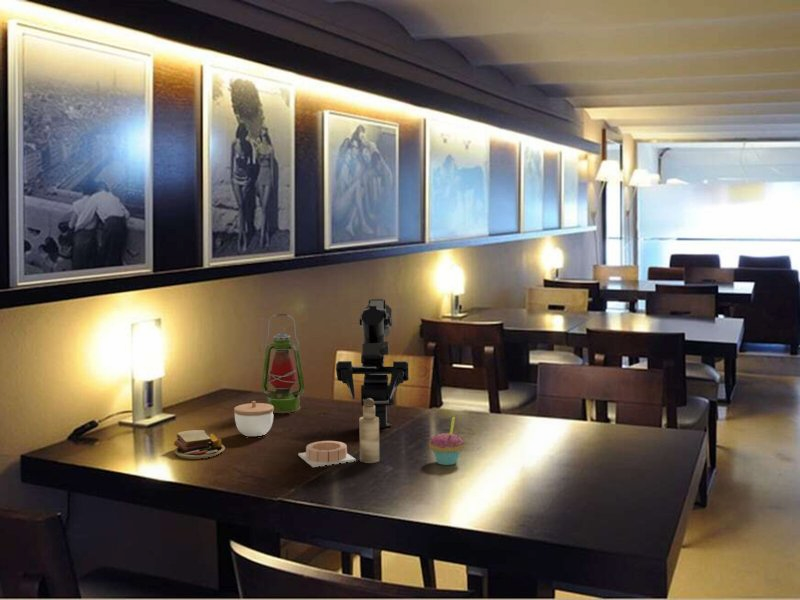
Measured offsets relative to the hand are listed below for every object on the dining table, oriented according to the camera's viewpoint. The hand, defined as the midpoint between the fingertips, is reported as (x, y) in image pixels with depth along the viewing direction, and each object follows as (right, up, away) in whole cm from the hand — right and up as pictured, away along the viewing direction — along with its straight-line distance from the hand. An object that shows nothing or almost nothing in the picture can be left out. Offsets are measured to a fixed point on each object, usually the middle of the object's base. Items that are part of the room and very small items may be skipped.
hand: (371, 398), depth 213 cm
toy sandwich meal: (-44, -14, +1) cm, 47 cm away
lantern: (-29, -9, +47) cm, 56 cm away
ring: (-11, -14, -6) cm, 19 cm away
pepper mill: (0, -14, -7) cm, 16 cm away
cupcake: (+19, -15, -9) cm, 25 cm away
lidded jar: (-33, -12, +17) cm, 39 cm away
